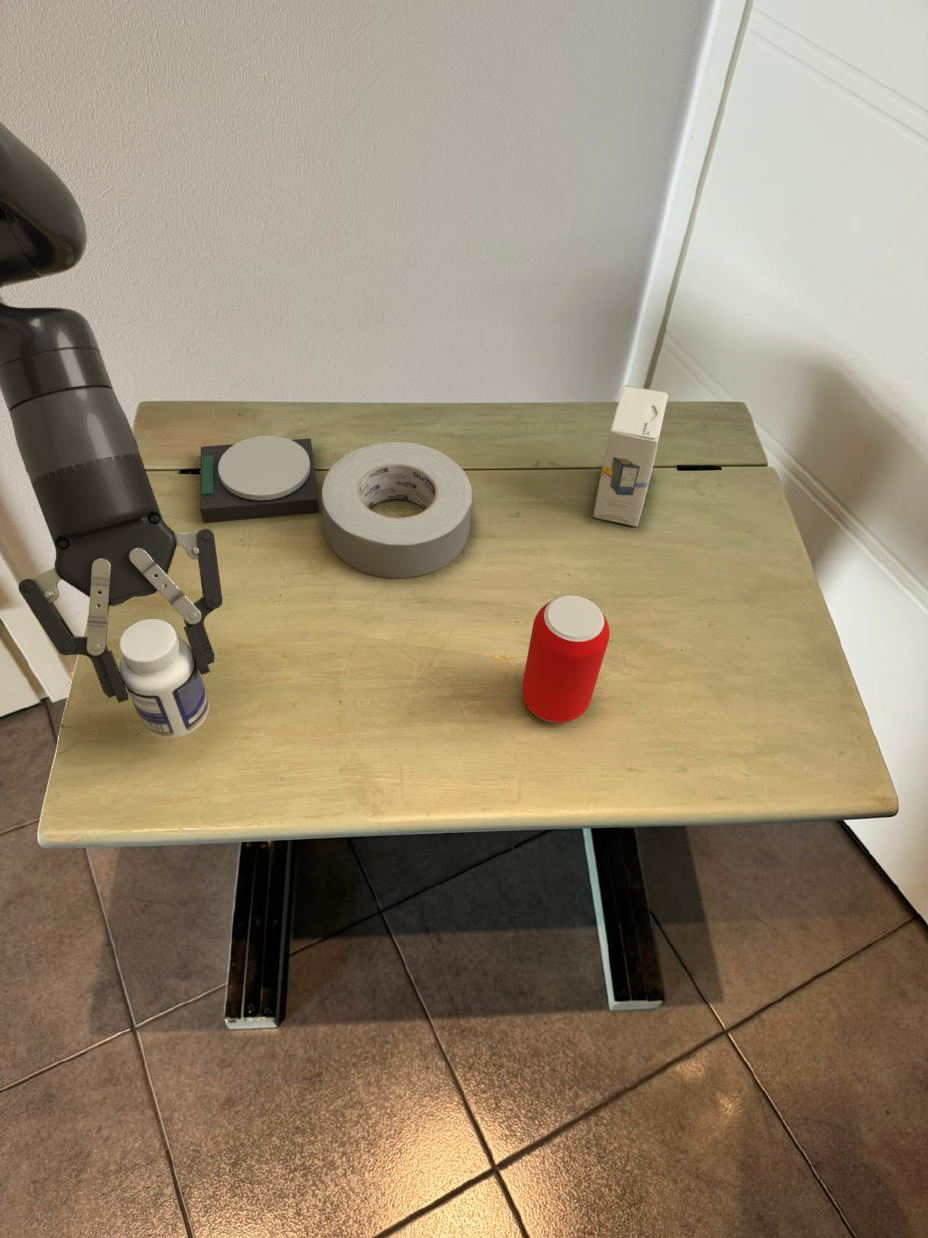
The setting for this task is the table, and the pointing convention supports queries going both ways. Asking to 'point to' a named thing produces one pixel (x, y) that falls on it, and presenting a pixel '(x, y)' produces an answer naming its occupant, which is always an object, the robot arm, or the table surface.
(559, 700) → the beverage can
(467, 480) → the tape roll
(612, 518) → the ink box
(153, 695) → the pill bottle
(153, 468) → the table surface
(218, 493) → the scale
